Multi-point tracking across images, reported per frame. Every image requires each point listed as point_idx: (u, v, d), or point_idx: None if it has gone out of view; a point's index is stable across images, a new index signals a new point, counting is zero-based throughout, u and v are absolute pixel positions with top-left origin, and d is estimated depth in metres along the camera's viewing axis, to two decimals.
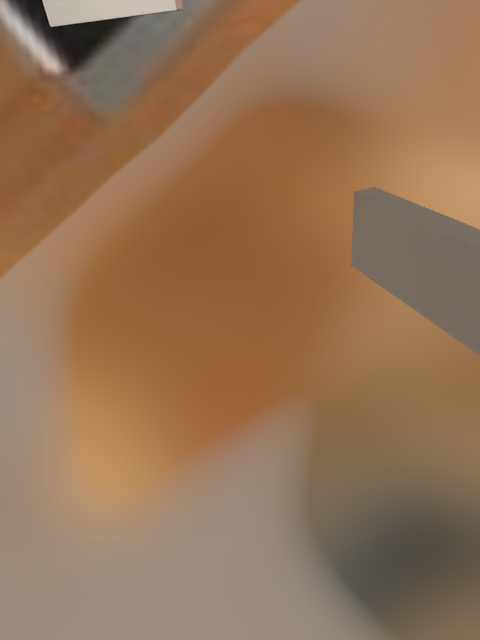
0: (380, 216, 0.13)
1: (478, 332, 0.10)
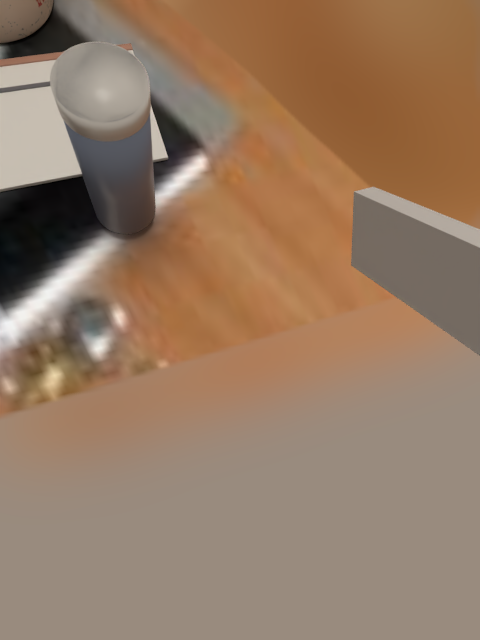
0: (380, 215, 0.13)
1: (478, 332, 0.10)
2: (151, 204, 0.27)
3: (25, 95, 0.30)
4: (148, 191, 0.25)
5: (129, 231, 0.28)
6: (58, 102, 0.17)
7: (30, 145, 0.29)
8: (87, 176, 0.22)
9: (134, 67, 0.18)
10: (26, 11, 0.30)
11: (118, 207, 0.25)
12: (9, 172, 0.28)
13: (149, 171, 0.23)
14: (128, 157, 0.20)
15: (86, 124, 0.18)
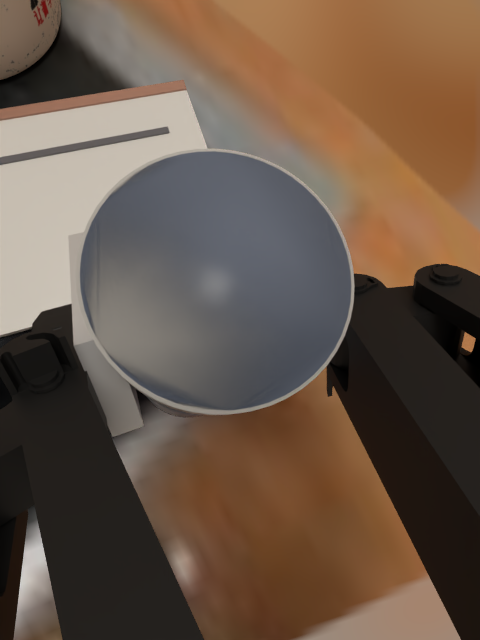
0: None
1: None
2: None
3: (17, 172, 0.18)
4: None
5: None
6: (103, 354, 0.06)
7: (26, 259, 0.17)
8: (145, 395, 0.11)
9: (307, 218, 0.07)
10: (18, 34, 0.18)
11: None
12: None
13: None
14: None
15: (186, 410, 0.06)
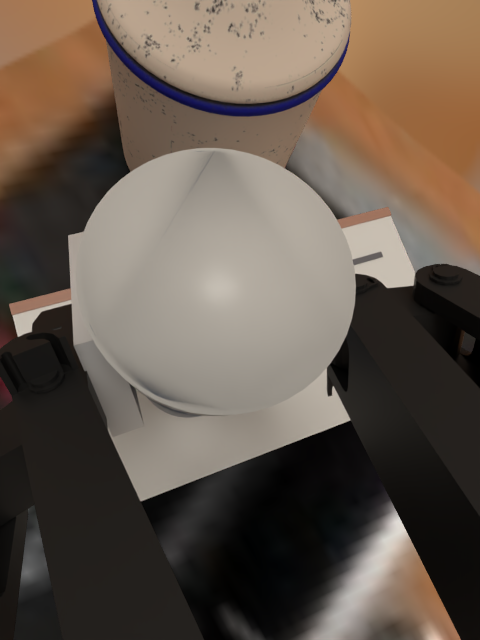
0: None
1: None
2: None
3: None
4: None
5: None
6: (103, 354, 0.06)
7: None
8: None
9: (308, 218, 0.07)
10: None
11: (196, 416, 0.13)
12: (264, 427, 0.20)
13: None
14: None
15: (187, 411, 0.06)
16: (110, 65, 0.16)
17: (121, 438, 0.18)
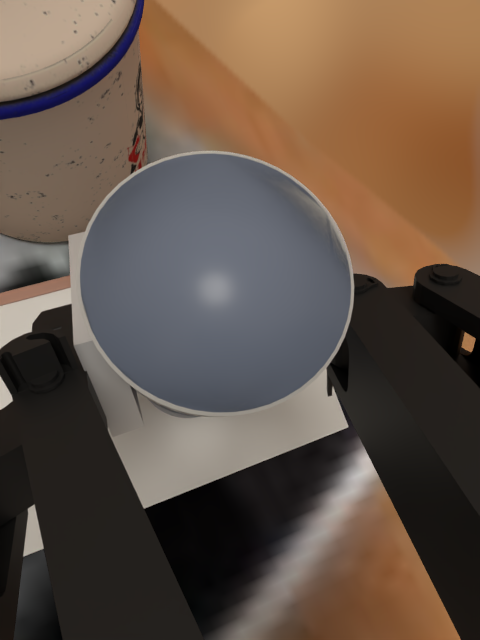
0: None
1: None
2: None
3: None
4: None
5: None
6: (104, 357, 0.06)
7: (128, 435, 0.17)
8: None
9: (307, 220, 0.07)
10: None
11: None
12: None
13: None
14: None
15: (187, 413, 0.06)
16: None
17: None
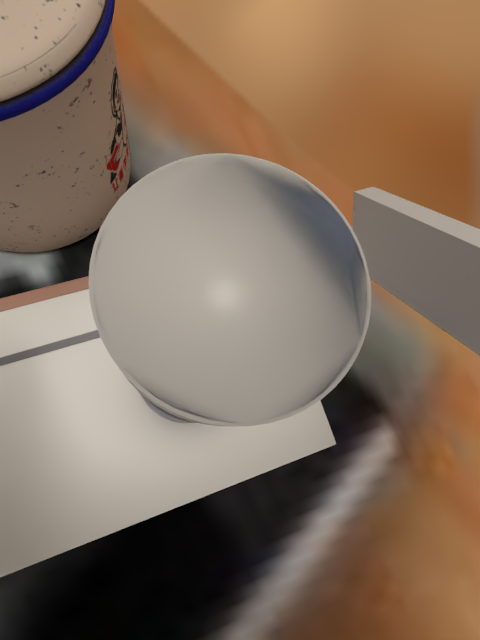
0: (381, 216, 0.13)
1: (478, 332, 0.10)
2: None
3: (93, 351, 0.17)
4: None
5: None
6: (118, 365, 0.05)
7: (106, 452, 0.16)
8: (149, 403, 0.10)
9: (323, 225, 0.07)
10: (95, 207, 0.17)
11: None
12: (71, 516, 0.16)
13: None
14: None
15: (203, 422, 0.06)
16: None
17: None
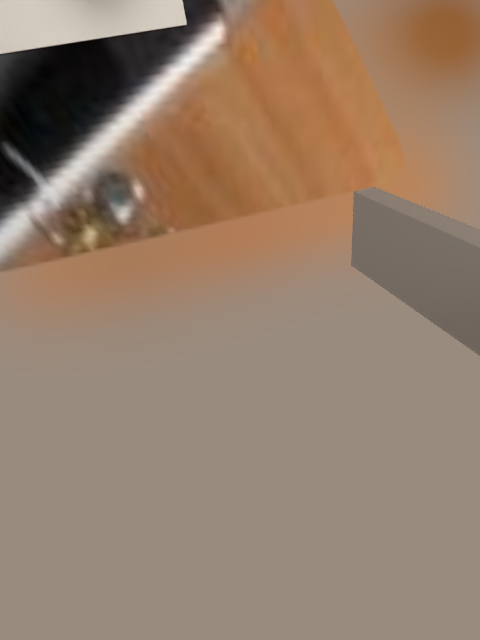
0: (380, 216, 0.13)
1: (478, 332, 0.10)
2: None
3: None
4: None
5: None
6: None
7: None
8: None
9: None
10: None
11: None
12: (26, 29, 0.28)
13: None
14: None
15: None
16: None
17: None
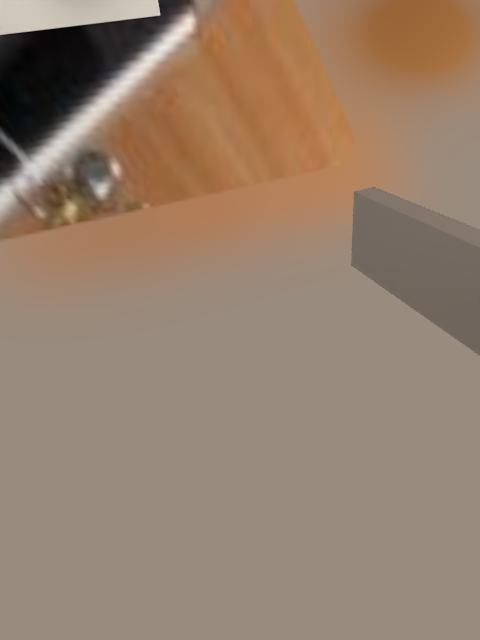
0: (381, 215, 0.13)
1: (478, 332, 0.10)
2: None
3: None
4: None
5: None
6: None
7: None
8: None
9: None
10: None
11: None
12: (10, 14, 0.30)
13: None
14: None
15: None
16: None
17: None
